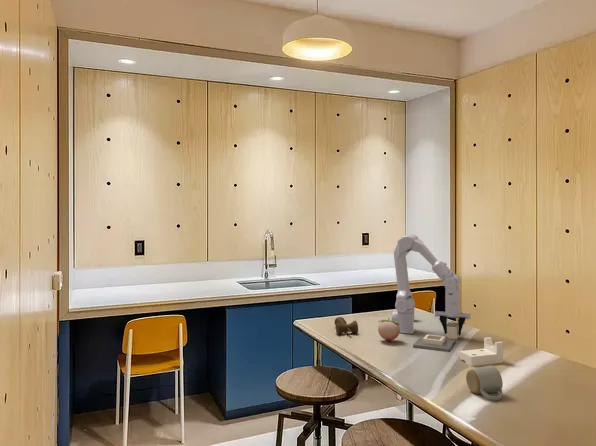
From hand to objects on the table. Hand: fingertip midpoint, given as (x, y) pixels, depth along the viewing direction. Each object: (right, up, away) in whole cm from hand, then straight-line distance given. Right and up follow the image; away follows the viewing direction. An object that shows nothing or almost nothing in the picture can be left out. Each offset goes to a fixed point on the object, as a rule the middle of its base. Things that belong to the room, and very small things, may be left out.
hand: (452, 334), depth 199 cm
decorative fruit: (-28, -2, -4) cm, 29 cm away
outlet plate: (-11, -2, -10) cm, 15 cm away
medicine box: (-13, -1, +32) cm, 34 cm away
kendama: (-45, -2, +13) cm, 47 cm away
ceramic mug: (-10, -4, -61) cm, 62 cm away
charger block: (0, -2, 0) cm, 2 cm away
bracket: (0, -3, -31) cm, 31 cm away
